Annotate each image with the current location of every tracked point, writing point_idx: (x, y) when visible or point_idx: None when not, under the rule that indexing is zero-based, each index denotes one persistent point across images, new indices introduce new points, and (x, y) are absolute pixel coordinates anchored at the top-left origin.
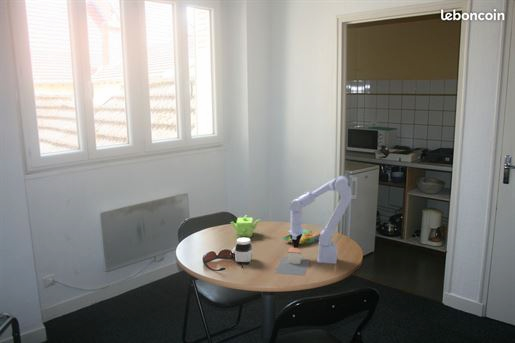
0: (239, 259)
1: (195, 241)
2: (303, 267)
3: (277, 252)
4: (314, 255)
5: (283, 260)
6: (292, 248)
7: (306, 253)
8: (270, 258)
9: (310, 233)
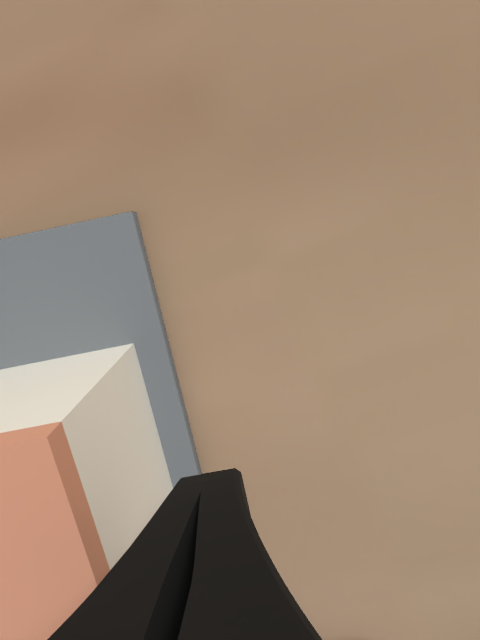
0: None
1: None
2: None
3: (356, 22)
4: (412, 587)
5: (13, 283)
6: (6, 528)
7: (454, 480)
8: (34, 13)
9: None
